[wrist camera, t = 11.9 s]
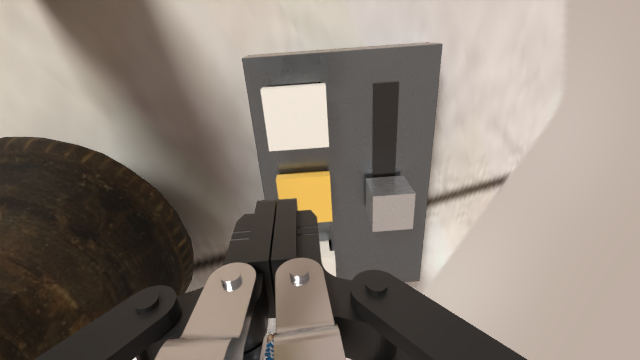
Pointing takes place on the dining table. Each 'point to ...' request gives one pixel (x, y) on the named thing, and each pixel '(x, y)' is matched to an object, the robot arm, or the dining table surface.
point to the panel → (359, 142)
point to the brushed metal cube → (389, 203)
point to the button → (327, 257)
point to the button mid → (308, 192)
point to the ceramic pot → (77, 241)
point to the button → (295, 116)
